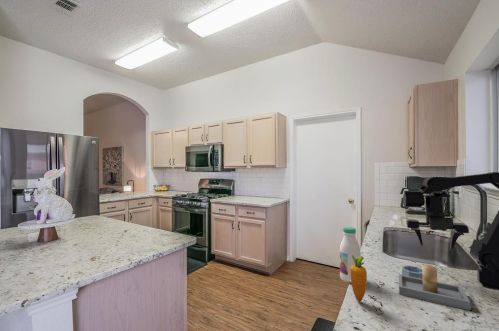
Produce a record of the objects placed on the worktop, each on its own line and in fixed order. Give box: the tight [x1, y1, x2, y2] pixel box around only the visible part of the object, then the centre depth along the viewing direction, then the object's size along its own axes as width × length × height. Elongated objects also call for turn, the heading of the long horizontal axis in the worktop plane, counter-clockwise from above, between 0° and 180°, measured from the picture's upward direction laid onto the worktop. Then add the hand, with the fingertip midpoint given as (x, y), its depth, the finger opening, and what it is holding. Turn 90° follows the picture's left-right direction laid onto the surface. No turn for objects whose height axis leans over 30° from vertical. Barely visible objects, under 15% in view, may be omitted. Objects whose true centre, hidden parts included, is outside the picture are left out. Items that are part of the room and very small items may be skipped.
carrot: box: [350, 255, 368, 303], centre depth 74 cm, size 5×5×15 cm
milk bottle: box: [339, 226, 362, 284], centre depth 90 cm, size 8×8×20 cm
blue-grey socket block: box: [401, 264, 423, 279], centre depth 92 cm, size 8×8×3 cm
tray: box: [398, 273, 472, 311], centre depth 78 cm, size 18×12×2 cm, turn 57°
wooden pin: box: [421, 264, 438, 294], centre depth 79 cm, size 4×4×8 cm
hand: (436, 247), depth 91 cm, fingers open, 9 cm apart
